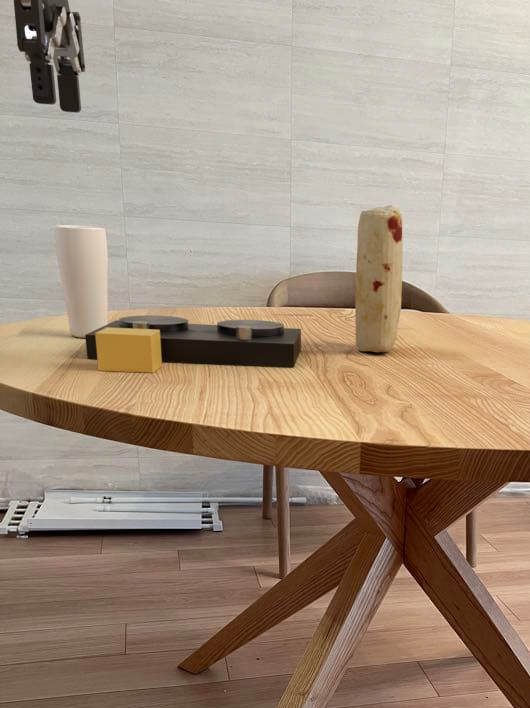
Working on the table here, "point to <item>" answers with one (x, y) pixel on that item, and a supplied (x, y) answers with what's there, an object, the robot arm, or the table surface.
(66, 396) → the table surface
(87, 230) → the drinking glass
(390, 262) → the food model
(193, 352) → the stove
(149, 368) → the cheese
